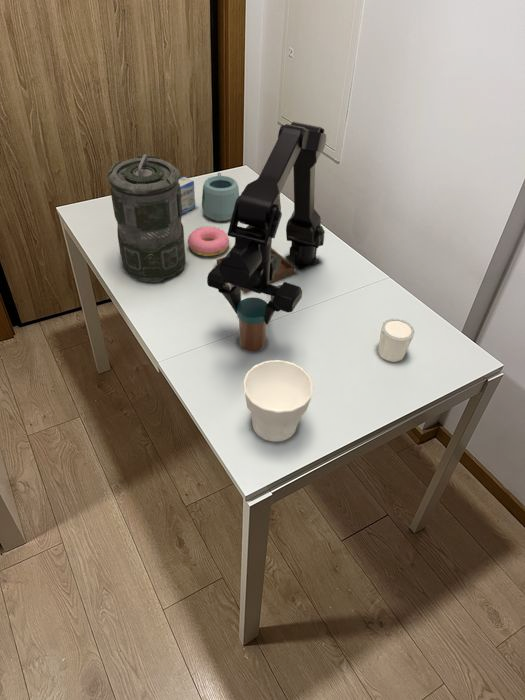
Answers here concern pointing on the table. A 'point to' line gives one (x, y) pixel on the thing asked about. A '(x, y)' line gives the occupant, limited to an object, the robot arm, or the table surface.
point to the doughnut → (208, 241)
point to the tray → (284, 271)
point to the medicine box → (187, 194)
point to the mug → (219, 197)
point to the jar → (252, 336)
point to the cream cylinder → (395, 339)
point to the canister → (148, 217)
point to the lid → (251, 310)
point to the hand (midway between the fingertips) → (252, 318)
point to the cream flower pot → (277, 398)
